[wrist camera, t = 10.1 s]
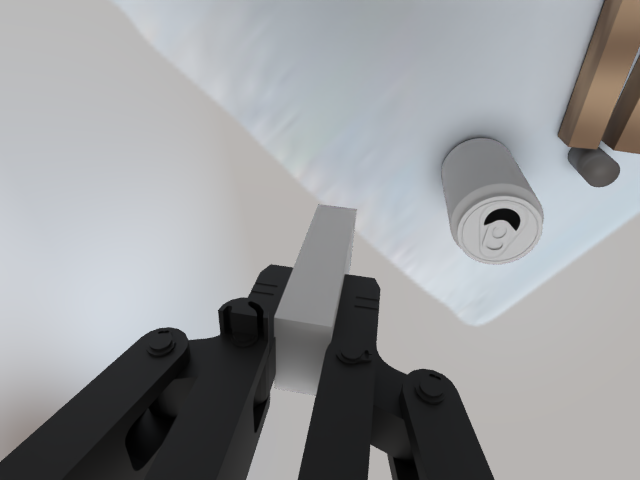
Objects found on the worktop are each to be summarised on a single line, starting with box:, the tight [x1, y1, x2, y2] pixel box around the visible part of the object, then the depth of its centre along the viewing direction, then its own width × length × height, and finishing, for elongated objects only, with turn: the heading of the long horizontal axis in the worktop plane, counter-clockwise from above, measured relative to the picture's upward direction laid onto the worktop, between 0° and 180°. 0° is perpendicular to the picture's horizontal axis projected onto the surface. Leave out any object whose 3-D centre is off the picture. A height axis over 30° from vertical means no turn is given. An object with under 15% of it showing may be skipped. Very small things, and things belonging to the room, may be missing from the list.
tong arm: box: [558, 0, 640, 149], centre depth 30 cm, size 16×2×3 cm, turn 178°
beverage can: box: [441, 138, 544, 265], centre depth 34 cm, size 6×6×12 cm
